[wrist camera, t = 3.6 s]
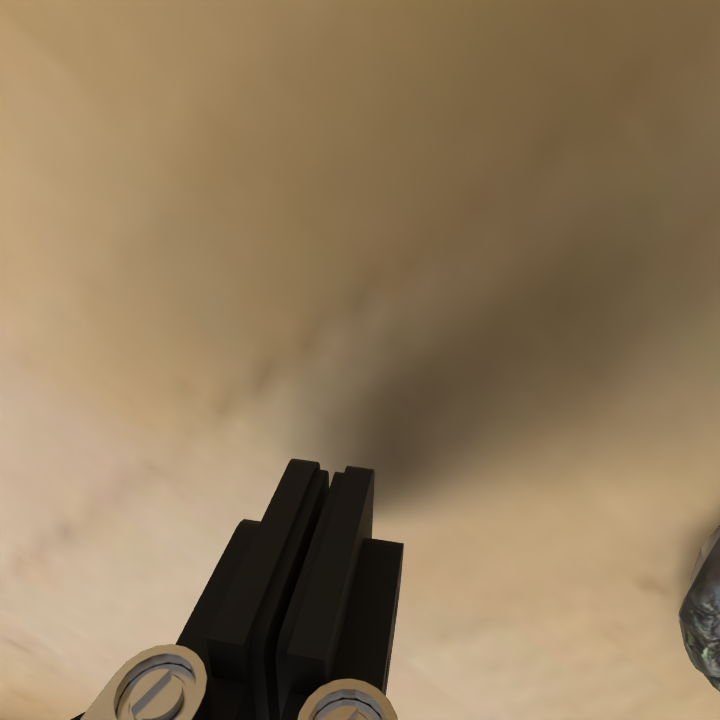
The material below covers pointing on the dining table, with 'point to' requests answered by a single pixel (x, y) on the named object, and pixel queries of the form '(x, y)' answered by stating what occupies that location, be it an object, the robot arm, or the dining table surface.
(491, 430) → the dining table surface
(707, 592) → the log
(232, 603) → the robot arm
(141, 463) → the dining table surface
